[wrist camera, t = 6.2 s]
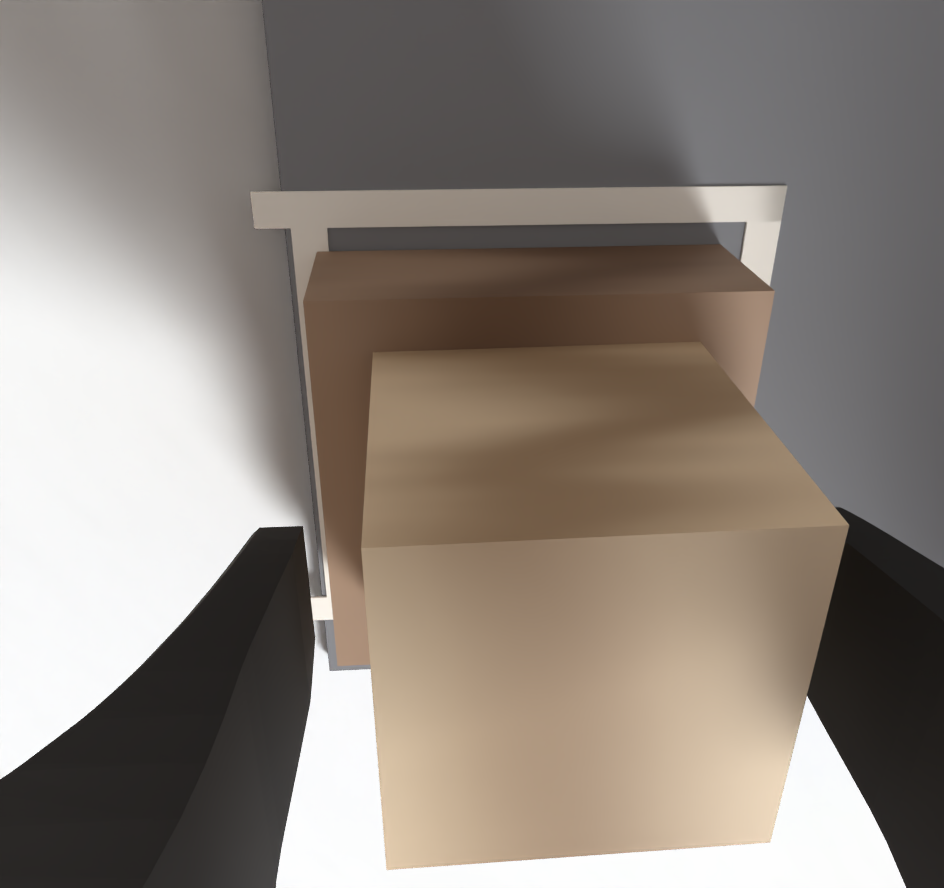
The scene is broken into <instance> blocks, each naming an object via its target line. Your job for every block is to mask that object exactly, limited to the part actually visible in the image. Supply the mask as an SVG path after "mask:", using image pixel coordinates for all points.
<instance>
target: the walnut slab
mask: <svg viewBox="0 0 944 888" xmlns="http://www.w3.org/2000/svg"><path fill="white" fill-rule="evenodd" d="M774 294H775V291H774V290H773V289H772V288H771V287H770V286H769V285H767V284H766V283H765V282H764V281H763V280H762V279H760V278H759V277H758V276H757V275H756V274H755V273H753V272H752V271H751V270H750V269H749V268H748V267H746V266H745V265H744V264H743V263H742V262H741V261H739V260H738V259H737V258H736V257H735V256H734V255H732V254H731V253H730V252H729V251H728V250H727V249H725V248H724V247H723V246H722V245H721V244H707V245H652V246H597V247H542V248H488V249H433V250H378V251H323V252H317V253H316V256H315V260H314V264H313V267H312V271H311V274H310V278H309V282H308V285H307V289H306V292H305V296H304V300H303V307H304V317H305V328H306V338H307V349H308V360H309V370H310V381H311V391H312V402H313V412H314V423H315V433H316V444H317V455H318V465H319V476H320V486H321V497H322V507H323V518H324V528H325V539H326V549H327V560H328V571H329V581H330V592H331V602H332V613H333V623H334V634H335V644H336V655H337V666H351V665H370V654H369V641H368V629H367V616H366V604H365V591H364V578H363V566H362V553H361V542H362V525H363V509H364V492H365V475H366V459H367V442H368V426H369V409H370V392H371V376H372V359H373V352H399V351H429V350H460V349H491V348H521V347H552V346H583V345H613V344H644V343H675V342H701V343H702V344H703V346H704V347H705V348H706V349H707V351H708V352H709V353H710V354H711V355H712V357H713V358H714V359H715V360H716V362H717V363H718V364H719V365H720V367H721V368H722V369H723V370H724V371H725V373H726V374H727V375H728V376H729V378H730V379H731V380H732V381H733V383H734V384H735V385H736V386H737V387H738V389H739V390H740V391H741V392H742V394H743V395H744V396H745V397H746V399H747V400H748V401H749V402H750V404H751V405H752V406H753V407H754V405H755V399H756V394H757V388H758V383H759V377H760V371H761V366H762V360H763V355H764V349H765V344H766V338H767V332H768V327H769V321H770V316H771V310H772V305H773V299H774Z"/></svg>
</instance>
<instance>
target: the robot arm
mask: <svg viewBox="0 0 944 888" xmlns="http://www.w3.org/2000/svg"><path fill="white" fill-rule="evenodd" d="M835 508H836V509H837V511H838V512H839V513H840V514H841V516H842V517H843V518H844V519H845V520H846V522H847V523H848V524H849V528H848V532H847V536H846V540H845V544H844V548H843V552H842V556H841V560H840V564H839V568H838V572H837V576H836V580H835V584H834V588H833V592H832V596H831V600H830V604H829V608H828V612H827V616H826V621H825V625H824V629H823V633H822V637H821V641H820V645H819V649H818V653H817V657H816V661H815V665H814V669H813V673H812V677H811V681H810V685H809V689H808V693H807V696H808V698H809V700H810V702H811V704H812V705H813V707H814V709H815V711H816V713H817V715H818V716H819V718H820V720H821V722H822V724H823V726H824V727H825V729H826V731H827V733H828V735H829V736H830V738H831V740H832V742H833V744H834V745H835V747H836V749H837V751H838V752H839V754H840V756H841V758H842V760H843V761H844V763H845V765H846V767H847V769H848V770H849V772H850V774H851V776H852V778H853V779H854V781H855V783H856V785H857V787H858V788H859V790H860V792H861V794H862V795H863V797H864V799H865V801H866V803H867V804H868V806H869V808H870V810H871V812H872V814H873V816H874V818H875V820H876V822H877V824H878V826H879V828H880V830H881V832H882V834H883V836H884V838H885V839H886V841H887V844H888V846H889V848H890V851H891V853H892V855H893V858H894V860H895V862H896V865H897V867H898V869H899V872H900V874H901V876H902V879H903V881H904V883H905V886H906V888H944V568H943V567H942V566H940V565H938V564H937V563H935V562H933V561H932V560H930V559H928V558H927V557H925V556H924V555H922V554H920V553H919V552H917V551H915V550H914V549H912V548H910V547H909V546H907V545H906V544H904V543H902V542H901V541H899V540H897V539H896V538H894V537H892V536H891V535H889V534H888V533H886V532H884V531H882V530H881V529H879V528H877V527H876V526H874V525H872V524H871V523H869V522H867V521H865V520H864V519H862V518H860V517H858V516H857V515H855V514H853V513H851V512H849V511H847V510H845V509H843V508H841V507H835ZM314 646H315V633H314V624H313V615H312V606H311V596H310V587H309V578H308V569H307V560H306V551H305V542H304V532H303V526H295V527H267V528H259V529H258V530H257V531H256V532H255V533H254V534H253V535H252V536H251V537H250V538H249V540H248V541H247V542H246V544H245V545H244V546H243V548H242V549H241V550H240V552H239V553H238V554H237V556H236V557H235V558H234V560H233V561H232V562H231V564H230V565H229V566H228V567H227V569H226V570H225V571H224V573H223V574H222V575H221V576H220V578H219V579H218V580H217V581H216V583H215V584H214V585H213V586H212V588H211V589H210V590H209V591H208V592H207V594H206V595H205V596H204V597H203V598H202V599H201V601H200V602H199V603H198V604H197V605H196V607H195V608H194V609H193V610H192V611H191V612H190V614H189V615H188V616H187V617H186V618H185V619H184V621H183V622H182V623H181V624H180V625H179V626H178V627H177V628H176V629H175V631H174V632H173V633H172V634H171V635H170V636H169V637H168V638H167V639H166V640H165V641H164V642H163V643H162V644H161V645H160V646H159V647H158V648H157V649H156V651H155V652H154V653H153V654H152V655H151V656H150V657H149V658H148V659H147V660H146V661H145V662H144V663H143V664H142V665H141V666H140V667H139V668H138V669H137V670H136V671H135V672H134V673H133V674H132V675H131V676H130V677H129V678H128V679H127V680H126V681H125V682H124V683H122V684H121V685H120V686H119V687H118V688H117V689H116V690H115V691H114V692H113V693H112V694H110V695H109V696H108V697H107V698H106V699H105V700H104V701H103V702H101V703H100V704H99V705H98V706H97V707H96V708H95V709H93V710H92V711H91V712H90V713H89V714H87V715H86V716H85V717H84V718H83V719H81V720H80V721H79V722H77V723H76V724H75V725H73V726H72V727H71V728H70V729H68V730H67V731H66V732H64V733H63V734H62V735H60V736H59V737H58V738H56V739H55V740H54V741H52V742H51V743H50V744H48V745H47V746H46V747H44V748H43V749H42V750H40V751H39V752H38V753H37V754H35V755H34V756H33V757H31V758H30V759H29V760H27V761H26V762H25V763H23V764H22V765H21V766H19V767H18V768H16V769H15V770H13V771H12V772H11V773H9V774H8V775H6V776H5V777H3V778H2V779H0V888H276V878H277V872H278V866H279V859H280V853H281V846H282V841H283V836H284V831H285V826H286V821H287V816H288V811H289V806H290V801H291V797H292V792H293V787H294V782H295V777H296V772H297V767H298V762H299V757H300V752H301V747H302V742H303V737H304V731H305V726H306V721H307V716H308V711H309V706H310V699H311V686H312V674H313V660H314Z"/></svg>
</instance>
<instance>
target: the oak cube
mask: <svg viewBox="0 0 944 888" xmlns="http://www.w3.org/2000/svg"><path fill="white" fill-rule="evenodd" d="M848 528H849V524H848V523H847V522H846V520H845V519H844V518H843V517H842V516H841V514H840V513H839V512H838V511H837V509H836V508H835V507H834V506H833V504H832V503H831V502H830V501H829V500H828V498H827V497H826V496H825V495H824V493H823V492H822V491H821V490H820V488H819V487H818V486H817V485H816V484H815V482H814V481H813V480H812V479H811V477H810V476H809V475H808V474H807V472H806V471H805V470H804V469H803V468H802V466H801V465H800V464H799V463H798V461H797V460H796V459H795V458H794V456H793V455H792V454H791V453H790V452H789V450H788V449H787V448H786V447H785V445H784V444H783V443H782V442H781V440H780V439H779V438H778V437H777V436H776V434H775V433H774V432H773V431H772V429H771V428H770V427H769V426H768V424H767V423H766V422H765V421H764V420H763V418H762V417H761V416H760V415H759V413H758V412H757V411H756V410H755V408H754V407H753V406H752V405H751V404H750V402H749V401H748V400H747V399H746V397H745V396H744V395H743V394H742V392H741V391H740V390H739V389H738V387H737V386H736V385H735V384H734V383H733V381H732V380H731V379H730V378H729V376H728V375H727V374H726V373H725V371H724V370H723V369H722V368H721V367H720V365H719V364H718V363H717V362H716V360H715V359H714V358H713V357H712V355H711V354H710V353H709V352H708V351H707V349H706V348H705V347H704V346H703V344H702V343H701V342H675V343H644V344H613V345H583V346H552V347H521V348H491V349H460V350H429V351H399V352H373V359H372V376H371V392H370V409H369V426H368V442H367V459H366V475H365V492H364V509H363V525H362V542H361V553H362V566H363V578H364V591H365V604H366V616H367V629H368V641H369V654H370V666H371V679H372V692H373V704H374V717H375V729H376V742H377V754H378V767H379V780H380V792H381V805H382V817H383V830H384V842H385V855H386V868H387V870H392V869H406V868H420V867H434V866H448V865H462V864H476V863H490V862H504V861H518V860H532V859H546V858H560V857H574V856H588V855H602V854H616V853H630V852H643V851H657V850H671V849H685V848H699V847H713V846H727V845H741V844H755V843H769V842H770V841H771V837H772V833H773V829H774V825H775V821H776V817H777V813H778V809H779V805H780V801H781V797H782V793H783V789H784V785H785V781H786V777H787V773H788V769H789V765H790V761H791V757H792V753H793V749H794V745H795V741H796V737H797V733H798V729H799V725H800V721H801V717H802V713H803V709H804V705H805V701H806V697H807V693H808V689H809V685H810V681H811V677H812V673H813V669H814V665H815V661H816V657H817V653H818V649H819V645H820V641H821V637H822V633H823V629H824V625H825V621H826V616H827V612H828V608H829V604H830V600H831V596H832V592H833V588H834V584H835V580H836V576H837V572H838V568H839V564H840V560H841V556H842V552H843V548H844V544H845V540H846V536H847V532H848Z"/></svg>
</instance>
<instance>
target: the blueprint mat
mask: <svg viewBox="0 0 944 888" xmlns="http://www.w3.org/2000/svg"><path fill="white" fill-rule="evenodd" d="M262 5H263V15H264V25H265V34H266V44H267V54H268V64H269V74H270V84H271V94H272V104H273V114H274V124H275V134H276V143H277V153H278V163H279V173H280V183H281V191H265V192H250V197H251V205H252V214H253V222H254V229H285V233H286V243H287V252H288V262H289V272H290V282H291V292H292V302H293V312H294V322H295V332H296V342H297V352H298V361H299V371H300V381H301V391H302V401H303V411H304V421H305V431H306V441H307V451H308V461H309V470H310V480H311V490H312V500H313V510H314V520H315V530H316V540H317V550H318V560H319V570H320V579H321V589H322V596H315V597H311V606H312V615H313V620H325V629H326V639H327V649H328V659H329V669H330V671H337V670H359V669H371V666H370V665H351V666H337V655H336V644H335V634H334V623H333V613H332V602H331V592H330V581H329V571H328V560H327V549H326V539H325V528H324V518H323V507H322V497H321V486H320V476H319V465H318V455H317V444H316V433H315V423H314V412H313V402H312V391H311V381H310V370H309V360H308V349H307V338H306V328H305V317H304V307H303V300H304V296H305V292H306V289H307V285H308V282H309V278H310V274H311V271H312V267H313V264H314V260H315V256H316V253H317V252H323V251H378V250H433V249H488V248H542V247H597V246H652V245H707V244H721V245H722V246H723V247H724V248H725V249H727V250H728V251H729V252H730V253H731V254H732V255H734V256H735V257H736V258H737V259H738V260H739V261H741V262H742V263H743V264H744V265H745V266H746V267H748V268H749V269H750V270H751V271H752V272H753V273H755V274H756V275H757V276H758V277H759V278H760V279H762V280H763V281H764V282H765V283H766V284H767V285H769V286H770V287H771V288H772V289H773V290H774V291H775V294H774V299H773V305H772V310H771V316H770V321H769V327H768V332H767V338H766V344H765V349H764V355H763V360H762V366H761V371H760V377H759V383H758V388H757V394H756V399H755V405H754V408H755V410H756V411H757V412H758V413H759V415H760V416H761V417H762V418H763V420H764V421H765V422H766V423H767V424H768V426H769V427H770V428H771V429H772V431H773V432H774V433H775V434H776V436H777V437H778V438H779V439H780V440H781V442H782V443H783V444H784V445H785V447H786V448H787V449H788V450H789V452H790V453H791V454H792V455H793V456H794V458H795V459H796V460H797V461H798V463H799V464H800V465H801V466H802V468H803V469H804V470H805V471H806V472H807V474H808V475H809V476H810V477H811V479H812V480H813V481H814V482H815V484H816V485H817V486H818V487H819V488H820V490H821V491H822V492H823V493H824V495H825V496H826V497H827V498H828V500H829V501H830V502H831V503H832V504H833V506H834V507H841V508H843V509H845V510H847V511H849V512H851V513H853V514H855V515H857V516H858V517H860V518H862V519H864V520H865V521H867V522H869V523H871V524H872V525H874V526H876V527H877V528H879V529H881V530H882V531H884V532H886V533H888V534H889V535H891V536H892V537H894V538H896V539H897V540H899V541H901V542H902V543H904V544H906V545H907V546H909V547H910V548H912V549H914V550H915V551H917V552H919V553H920V554H922V555H924V556H925V557H927V558H928V559H930V560H932V561H933V562H935V563H937V564H938V565H940V566H942V567H943V568H944V0H262Z"/></svg>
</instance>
